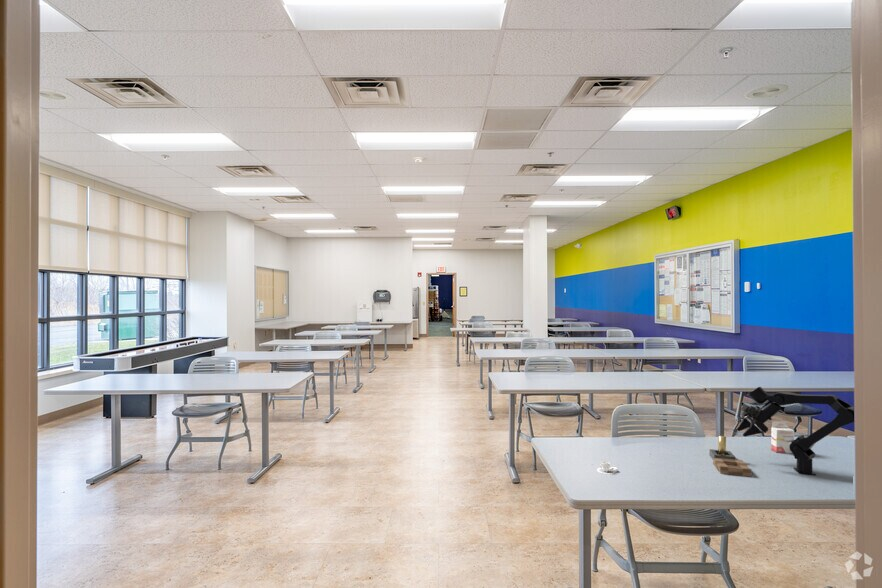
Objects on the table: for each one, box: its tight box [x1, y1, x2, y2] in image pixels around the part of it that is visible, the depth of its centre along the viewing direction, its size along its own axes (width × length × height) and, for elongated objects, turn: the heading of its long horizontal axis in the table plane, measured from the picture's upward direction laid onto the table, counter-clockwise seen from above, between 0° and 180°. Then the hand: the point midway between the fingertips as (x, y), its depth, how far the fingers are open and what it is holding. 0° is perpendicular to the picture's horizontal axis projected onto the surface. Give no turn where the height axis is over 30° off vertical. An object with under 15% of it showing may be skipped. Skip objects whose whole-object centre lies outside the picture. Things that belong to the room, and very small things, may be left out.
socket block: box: [709, 448, 737, 460], centre depth 231 cm, size 9×9×3 cm
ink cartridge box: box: [770, 421, 795, 454], centre depth 243 cm, size 9×5×15 cm, turn 84°
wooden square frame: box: [712, 458, 752, 477], centre depth 217 cm, size 12×12×3 cm
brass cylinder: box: [717, 435, 727, 455], centre depth 231 cm, size 3×3×11 cm
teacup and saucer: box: [596, 461, 619, 475], centre depth 215 cm, size 9×8×4 cm
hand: (740, 433), depth 229 cm, fingers open, 9 cm apart
